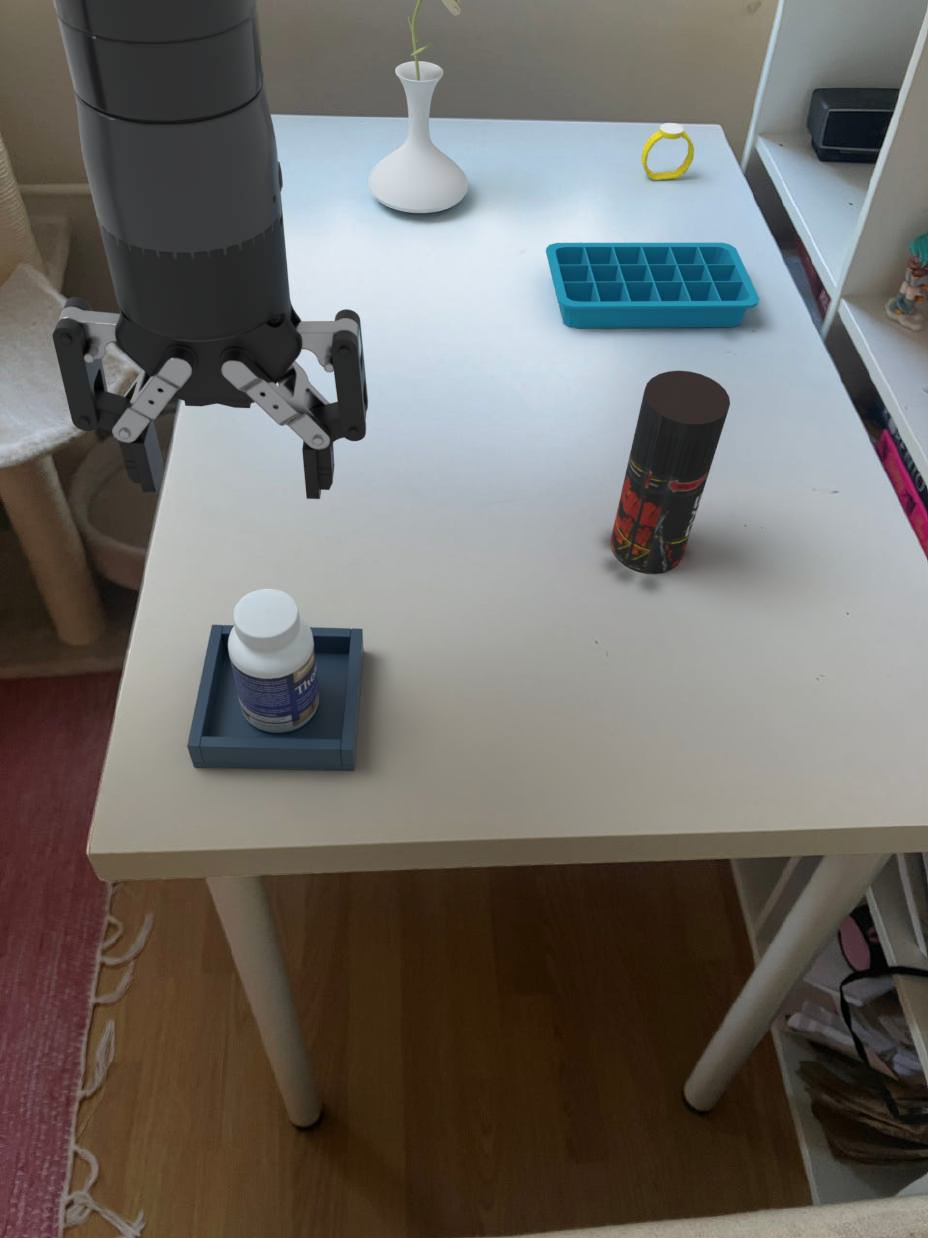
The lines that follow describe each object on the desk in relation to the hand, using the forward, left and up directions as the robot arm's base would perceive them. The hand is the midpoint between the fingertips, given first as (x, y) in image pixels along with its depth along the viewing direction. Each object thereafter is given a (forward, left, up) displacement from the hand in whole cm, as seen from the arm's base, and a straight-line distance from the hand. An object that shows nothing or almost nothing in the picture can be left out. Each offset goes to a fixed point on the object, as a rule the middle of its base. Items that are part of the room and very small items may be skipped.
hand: (235, 485), depth 54 cm
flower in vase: (-22, +68, -21) cm, 75 cm away
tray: (+1, 0, -21) cm, 21 cm away
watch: (+2, +87, -21) cm, 89 cm away
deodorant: (+19, +27, -21) cm, 39 cm away
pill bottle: (+1, 0, -20) cm, 20 cm away
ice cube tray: (+8, +61, -21) cm, 64 cm away
